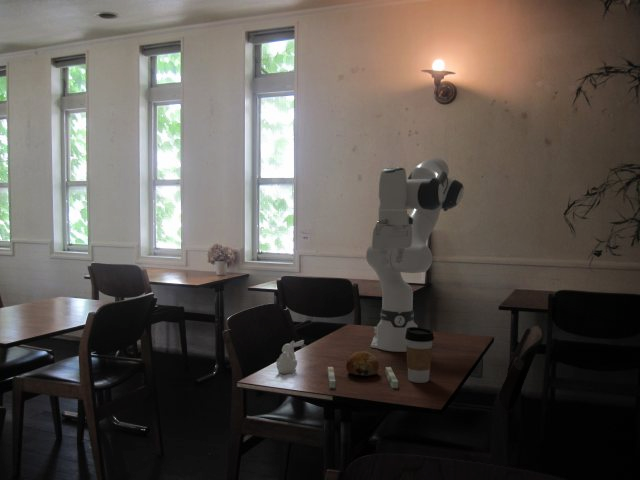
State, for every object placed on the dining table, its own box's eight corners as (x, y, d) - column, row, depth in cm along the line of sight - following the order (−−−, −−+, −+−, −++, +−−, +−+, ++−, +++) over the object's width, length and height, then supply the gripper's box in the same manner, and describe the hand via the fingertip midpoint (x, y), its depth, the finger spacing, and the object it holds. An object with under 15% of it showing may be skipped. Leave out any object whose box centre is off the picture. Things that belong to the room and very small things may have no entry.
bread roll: (380, 384, 175) (386, 359, 177) (368, 375, 167) (374, 349, 169) (351, 378, 180) (358, 354, 182) (338, 369, 172) (345, 344, 174)
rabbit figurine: (283, 364, 184) (284, 334, 184) (306, 366, 183) (307, 336, 182) (272, 375, 173) (272, 343, 172) (297, 377, 171) (297, 345, 170)
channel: (327, 373, 175) (327, 366, 175) (390, 373, 175) (390, 367, 175) (329, 388, 161) (329, 381, 161) (397, 388, 161) (398, 381, 161)
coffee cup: (413, 373, 176) (414, 325, 175) (438, 379, 170) (439, 329, 169) (398, 380, 169) (399, 329, 168) (424, 386, 164) (425, 334, 163)
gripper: (385, 220, 169) (385, 267, 169) (416, 219, 185) (415, 261, 186) (367, 219, 172) (366, 265, 173) (398, 219, 189) (398, 260, 190)
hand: (392, 263), depth 180 cm, fingers open, 8 cm apart
